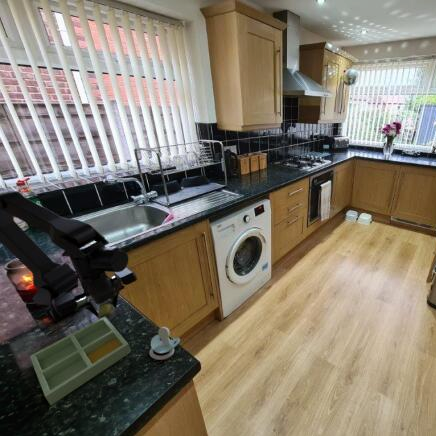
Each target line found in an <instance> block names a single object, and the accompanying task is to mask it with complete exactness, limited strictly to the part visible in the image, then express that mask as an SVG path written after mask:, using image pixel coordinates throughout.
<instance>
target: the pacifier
mask: <svg viewBox="0 0 436 436" xmlns="http://www.w3.org/2000/svg"><path fill="white" fill-rule="evenodd" d="M157 333H158V334H156V335H154V336H153V337H152V338H151V341H150V347H151V348H150V350H149V352H148V354H149V356H150V357H151V358H152V359H154V360H156V361H157V360H158V361H163V360H167V359H169V358H171V357H172V356H173V355H174V353H175V348H176V347H177V346H178V345H179V343H180V341H181V338H180V337H174V338H170V329H169V328H168V327H166V326H162V327H160V328H159V329H158V330H157ZM172 339H173V340H172ZM154 352H155V353H154ZM156 353H157V354H156ZM159 354H164V355H159Z"/></svg>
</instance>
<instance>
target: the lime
mask: <svg viewBox="0 0 436 436" xmlns="http://www.w3.org/2000/svg"><path fill="white" fill-rule="evenodd" d="M114 309H115V308H114V306H113V303H112V302H111V300H110V299H108V300H106V301H104V302H103V303H101V304H99V308H98V311H97V312H98V317H97V318H98V319H101V318H103V317H106V318H107V317H108V316H111V314H113V311H114Z"/></svg>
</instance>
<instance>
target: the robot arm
mask: <svg viewBox="0 0 436 436" xmlns="http://www.w3.org/2000/svg"><path fill="white" fill-rule="evenodd" d="M15 218H16V219H19V220H21V221H23V222H24V223H26V224H28V225H30V226H32V227H34V228H35V229H37V230H39V231H42V232H43V233H45V234H47V236H49V239H50V241H51V243H52V244H54V245H55V246H57V247H58V248H60V249H61V250H63V252H62V253H61V256H62V257H66V258H67V257H68V258H69V259H70V261H71V264H72V266H73V268H74V269H73V268H72V267H71V266H70V264H69V263H67V262H63V263H58V262H55V261H53V260H52V259H51V257H50V256H49V255H48V254H47V253H45V251H44V250H43V249H42V248H41V247H40V246H39V245H38V244H37V243H36V242H35V241H34V240H33V239H32V238H31V237H30V236H29V235H28V234H27V233H26V231H25V230H23V228H22V227H21V226H20V225H19V224H18V223H17V222H16V221H15ZM0 243H1V244H2V245H3V246H4V247H5V248H6V249H7V250H8V251H9V252H10V253H11V254H12V255H14V257H15V258H16V259H17V260H18V261H20V263H22V264H23V266H24V267H26V269H28V271H29V272H30V273H32V281H33V282H32V284H33V287H34V288H35V289H36V290H37V291H36V293H35V294H34V296H33V297H32V301H34V303H35V304H36V305H39V306H40V305H41V306H48V307H49V310H50V311H49V315H50V316H51V318H52V320H53V321H54V323H57V322H59V321H61V320H63V319H65V318H67V317H70V316H71V315H73V314H76V313H78V312H80V311H81V310H83V309H86V310H87V311H89V312H90V313H91V314H93V315H94V316H95V317H96V318H98V312H99V311H97V309H96V308H95V307H94V305H93V303H92V302H91V301H90V299H89V298H90V297H91V298H92V300H93V301H94V303H95V304H96V305H101V303H103V302H104V301H106V300H110V301H111V302H112V303H113V306H114V308H113V309H117V306H118V299H119V294H120V292H121V291H122V290H124V289H125V286H128V285H131V284H133V283H135V282H136V281H138V278H137V275H136V273H135V272H134V271H133V270H131V268H128V267H127V266H128V263H129V254H128V253H127V252H126V251H124V250H121V249H119V247H118V246H107V245H109V244H110V242H109V241H108V240H107V239H106V237H105V236H104V235H102V234H101V233H100V232H99V231H98V230H96V229H95V228H94V227H93V226H92V225H91V224H90V223H87V222H84V221H82V220H80V219H75V218H66V217H63V216H60V214H57V213H55V212H53V211H51V210H49V209H48V208H46V207H45V206H42V205H40V204H38V203H36V202H35V201H32V200H31V199H29V198H27V197H25V196H24V195H23V194H22V193H21V192H20V191H17V190H8V191H3V192H0ZM91 243H92V244H91ZM88 245H89V246H88ZM106 272H109V273H110V272H111V273H113V276H111V277H110V276H108V275H107V273H106ZM79 284H80V285H81V288H82V291H80V292H78V293H76V294H73V291H74V290H75V289H76V288H78V287H79Z"/></svg>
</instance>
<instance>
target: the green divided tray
mask: <svg viewBox="0 0 436 436" xmlns="http://www.w3.org/2000/svg"><path fill="white" fill-rule="evenodd" d="M130 353H132V350H131V347H130V345H129V343H128V342H127V340H125V338H124V337H123V335H121V334H120V332H119V331H118V330H117V329H116V328H115V326H114V325H113V324H112V323H111V321H109V319H108V318H107V317H103V318H98V319H97V320H96V321H94V322H92V323H90V324H88V325H86V326H84V327H82V328H80V329H78V330H76V331H74V332H73V333H70V334H69V335H67V336H65V337H63V338H61V339H60V340H57V341H55V342H54V343H52V344H50V345H48V346H46V347H44V348H42V349H40V350H38V351H36V352H35V353H33V354H31V355H29V359H30V361H31V364H32V366H33V369H34V372H35V374H36V377H37V380H38V382H39V385H40V388H41V389H42V393H43V396H44V397H45V399H46V401H47V402H48V404H49V406H53V405H54V404H56V403H57V402H58V401H60V400H62V399H63V398H64V397H66V396H67V395H69V394H70V393H72V392H74V391H75V390H76V389H78V388H80V387H81V386H83V385H84V384H86V383H87V382H89V381H90V380H91V379H93V378H94V377H96V376H98V375H99V374H101V373H102V372H104V371H105V370H106V369H108V368H110V367H112V366H113V365H114V364H116V363H117V362H119V361H121V360H122V359H123V358H124V357H126V356H128V355H129V354H130Z"/></svg>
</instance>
